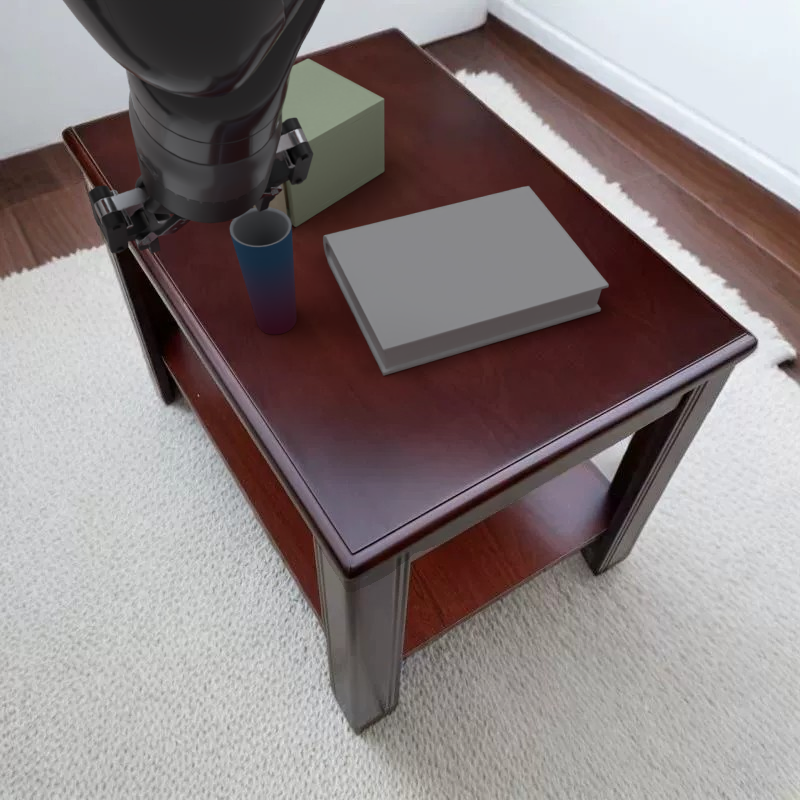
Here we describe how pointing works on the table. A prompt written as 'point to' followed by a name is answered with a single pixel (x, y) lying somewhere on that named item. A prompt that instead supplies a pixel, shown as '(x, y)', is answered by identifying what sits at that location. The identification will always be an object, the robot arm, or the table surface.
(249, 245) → the cup
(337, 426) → the table surface
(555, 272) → the book
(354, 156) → the cabinet
